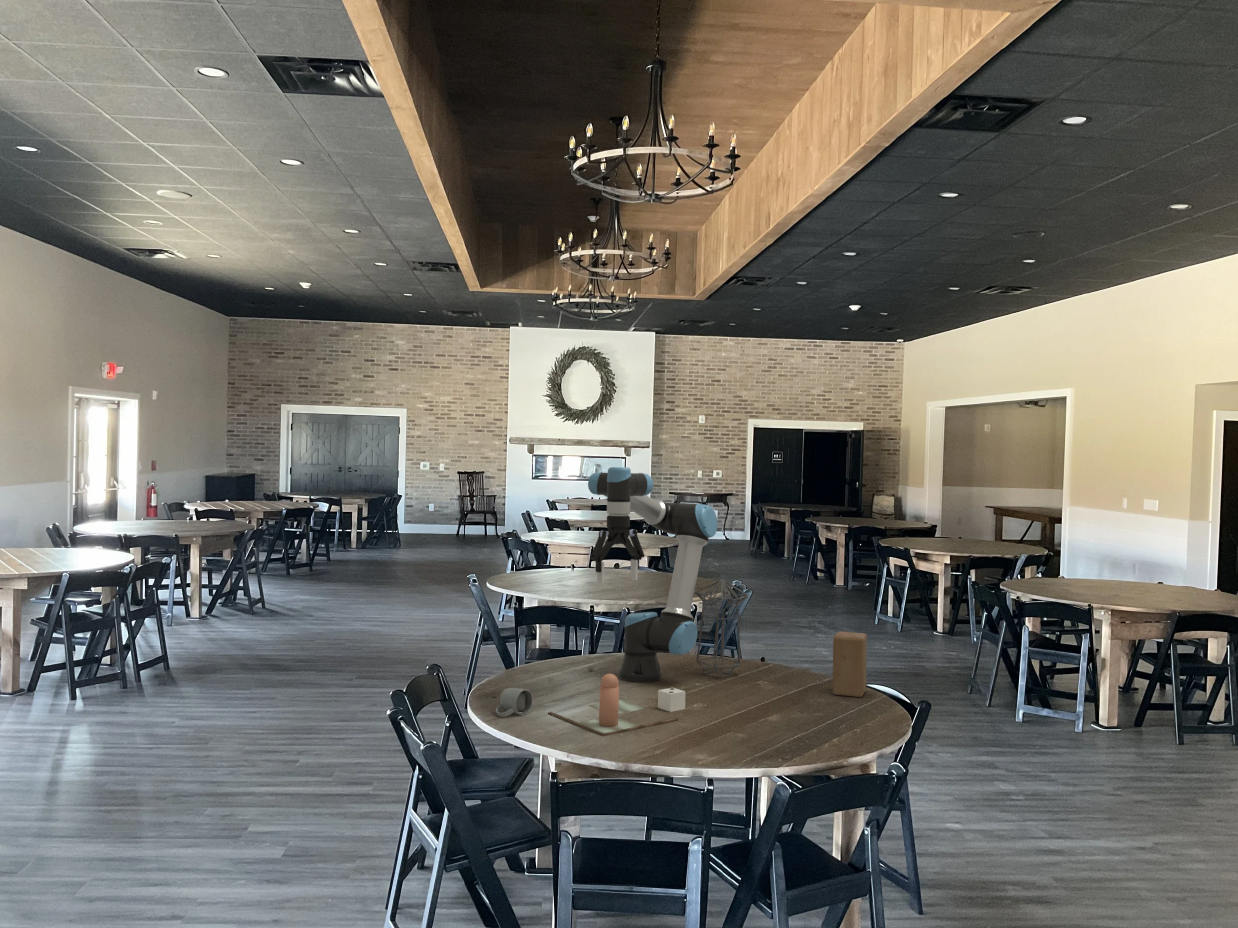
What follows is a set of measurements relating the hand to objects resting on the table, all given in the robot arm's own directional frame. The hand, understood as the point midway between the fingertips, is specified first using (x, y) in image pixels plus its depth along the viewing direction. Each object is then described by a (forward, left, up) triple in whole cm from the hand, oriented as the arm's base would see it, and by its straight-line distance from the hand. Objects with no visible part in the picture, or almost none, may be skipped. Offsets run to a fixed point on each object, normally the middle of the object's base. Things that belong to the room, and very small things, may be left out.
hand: (617, 581), depth 298 cm
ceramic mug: (+35, -7, -39) cm, 52 cm away
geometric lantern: (-55, -9, -39) cm, 68 cm away
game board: (+12, +14, -39) cm, 43 cm away
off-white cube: (-8, +18, -39) cm, 43 cm away
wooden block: (-72, +36, -39) cm, 89 cm away
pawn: (+19, +21, -38) cm, 47 cm away
